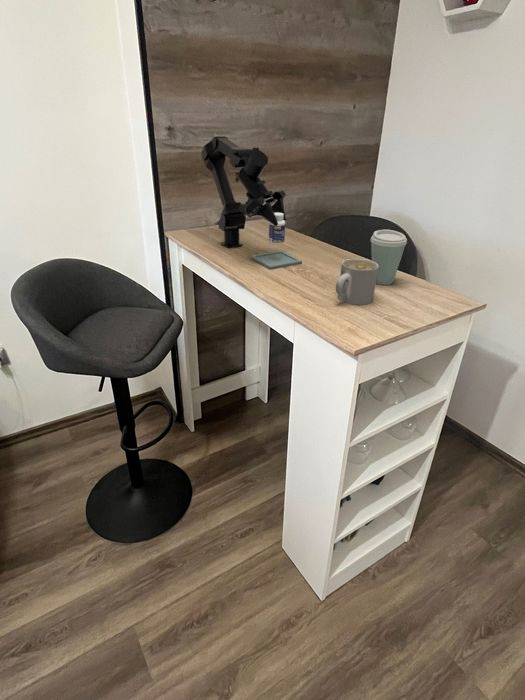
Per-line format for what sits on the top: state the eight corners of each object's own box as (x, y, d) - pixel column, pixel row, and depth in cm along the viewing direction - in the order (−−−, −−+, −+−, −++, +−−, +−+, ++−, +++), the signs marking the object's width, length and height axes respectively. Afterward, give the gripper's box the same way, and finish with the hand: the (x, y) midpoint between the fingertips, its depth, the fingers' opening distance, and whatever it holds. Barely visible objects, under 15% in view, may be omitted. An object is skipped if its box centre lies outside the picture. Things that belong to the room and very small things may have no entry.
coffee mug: (357, 289, 127) (362, 256, 121) (380, 301, 119) (386, 267, 114) (320, 296, 121) (324, 263, 116) (342, 310, 113) (347, 274, 108)
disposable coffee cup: (406, 285, 130) (416, 236, 123) (377, 289, 126) (386, 239, 119) (385, 274, 139) (393, 227, 131) (357, 277, 135) (364, 230, 127)
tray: (250, 258, 149) (250, 255, 149) (281, 253, 155) (281, 250, 155) (269, 269, 140) (269, 266, 139) (301, 263, 146) (302, 260, 145)
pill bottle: (273, 246, 141) (274, 216, 136) (265, 241, 145) (266, 212, 140) (287, 244, 144) (288, 214, 139) (279, 240, 148) (280, 211, 143)
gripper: (252, 195, 152) (278, 231, 153) (223, 204, 138) (251, 244, 139) (273, 174, 144) (299, 212, 145) (243, 181, 130) (273, 223, 131)
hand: (281, 223), depth 140 cm, fingers closed on pill bottle, 5 cm apart
